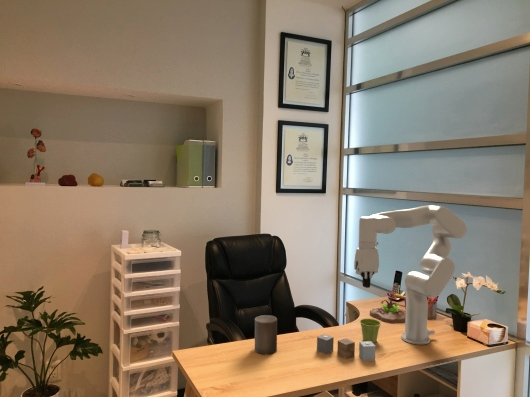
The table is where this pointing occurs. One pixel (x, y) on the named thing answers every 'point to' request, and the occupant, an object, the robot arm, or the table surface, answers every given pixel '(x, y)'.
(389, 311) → the plant
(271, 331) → the pillar candle
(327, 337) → the charcoal block
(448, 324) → the table surface
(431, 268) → the robot arm
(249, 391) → the table surface
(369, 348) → the slate block
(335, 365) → the table surface
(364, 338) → the plant pot
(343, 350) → the walnut block
